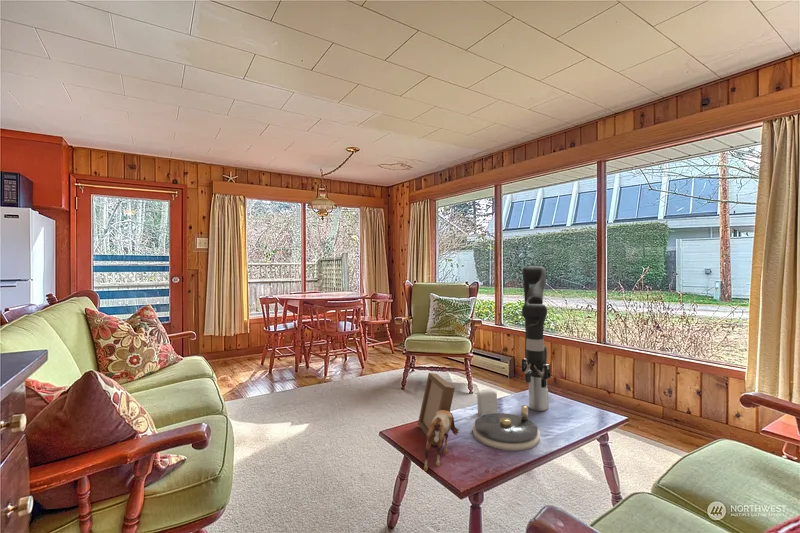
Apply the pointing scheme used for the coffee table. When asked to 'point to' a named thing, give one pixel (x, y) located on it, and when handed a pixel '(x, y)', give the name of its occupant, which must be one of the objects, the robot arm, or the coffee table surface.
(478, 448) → the coffee table surface
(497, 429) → the handwheel
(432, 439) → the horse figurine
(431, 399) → the photo frame
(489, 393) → the photo printer
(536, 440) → the base plate
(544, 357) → the robot arm
